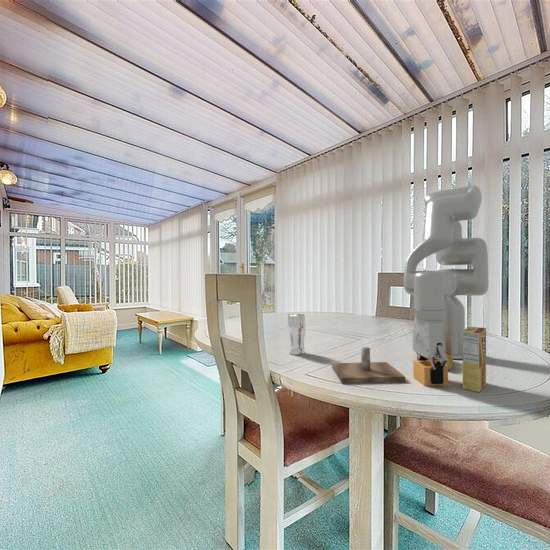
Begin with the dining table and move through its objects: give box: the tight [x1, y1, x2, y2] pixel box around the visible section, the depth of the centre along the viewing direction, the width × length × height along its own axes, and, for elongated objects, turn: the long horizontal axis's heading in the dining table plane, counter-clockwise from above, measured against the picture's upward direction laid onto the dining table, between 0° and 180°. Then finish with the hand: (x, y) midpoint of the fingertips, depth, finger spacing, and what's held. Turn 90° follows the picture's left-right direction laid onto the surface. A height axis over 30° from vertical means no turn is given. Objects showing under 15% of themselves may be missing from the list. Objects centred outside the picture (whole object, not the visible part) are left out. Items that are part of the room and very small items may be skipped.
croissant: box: [428, 348, 454, 370], centre depth 102 cm, size 21×10×8 cm, turn 175°
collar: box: [412, 360, 449, 387], centre depth 84 cm, size 6×6×5 cm
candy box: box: [462, 326, 487, 393], centre depth 81 cm, size 9×4×15 cm, turn 137°
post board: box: [331, 346, 406, 384], centre depth 91 cm, size 18×14×8 cm
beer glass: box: [287, 313, 306, 356], centre depth 117 cm, size 7×7×15 cm
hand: (430, 378), depth 84 cm, fingers closed on collar, 6 cm apart
